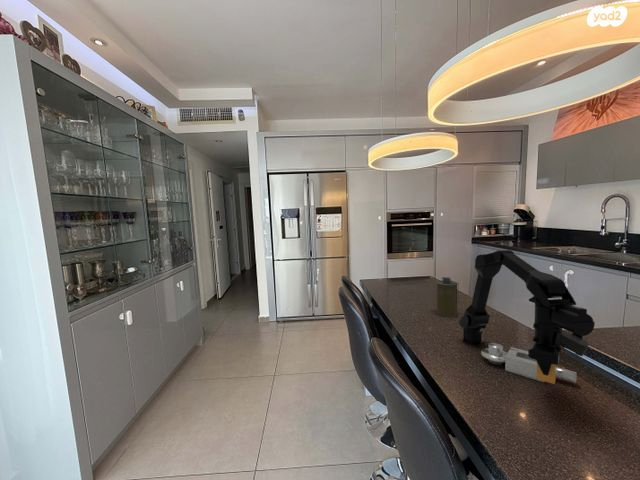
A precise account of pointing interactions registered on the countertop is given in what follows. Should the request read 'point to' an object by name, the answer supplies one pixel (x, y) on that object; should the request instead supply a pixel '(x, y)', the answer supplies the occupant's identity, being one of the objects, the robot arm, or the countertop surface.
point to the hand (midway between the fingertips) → (546, 372)
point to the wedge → (548, 378)
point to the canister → (447, 297)
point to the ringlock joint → (520, 362)
